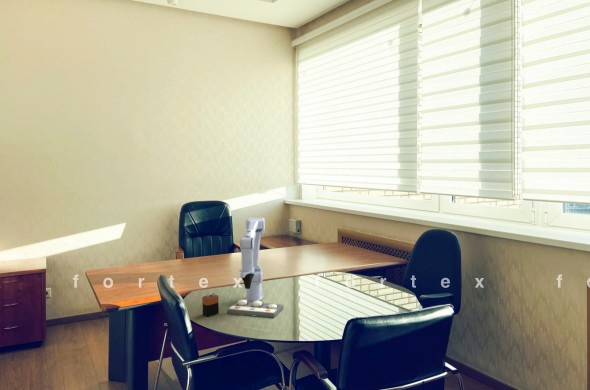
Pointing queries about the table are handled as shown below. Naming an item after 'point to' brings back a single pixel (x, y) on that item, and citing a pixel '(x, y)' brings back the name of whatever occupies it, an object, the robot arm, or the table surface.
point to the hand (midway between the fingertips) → (247, 288)
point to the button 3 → (272, 306)
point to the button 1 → (242, 302)
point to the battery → (210, 305)
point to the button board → (255, 310)
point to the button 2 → (257, 304)
